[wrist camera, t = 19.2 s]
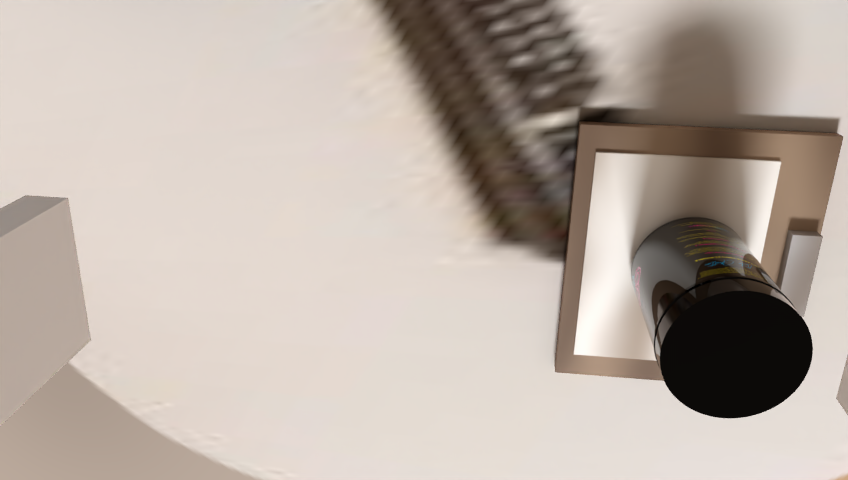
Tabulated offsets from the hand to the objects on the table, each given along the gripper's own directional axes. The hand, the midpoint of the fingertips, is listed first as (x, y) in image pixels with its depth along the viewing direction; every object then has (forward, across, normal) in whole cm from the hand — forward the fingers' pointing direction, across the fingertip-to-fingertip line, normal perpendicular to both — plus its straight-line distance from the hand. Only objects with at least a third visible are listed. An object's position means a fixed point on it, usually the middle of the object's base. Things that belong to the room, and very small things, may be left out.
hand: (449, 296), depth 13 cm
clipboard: (+32, +12, -12) cm, 36 cm away
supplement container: (+31, +12, -12) cm, 35 cm away
